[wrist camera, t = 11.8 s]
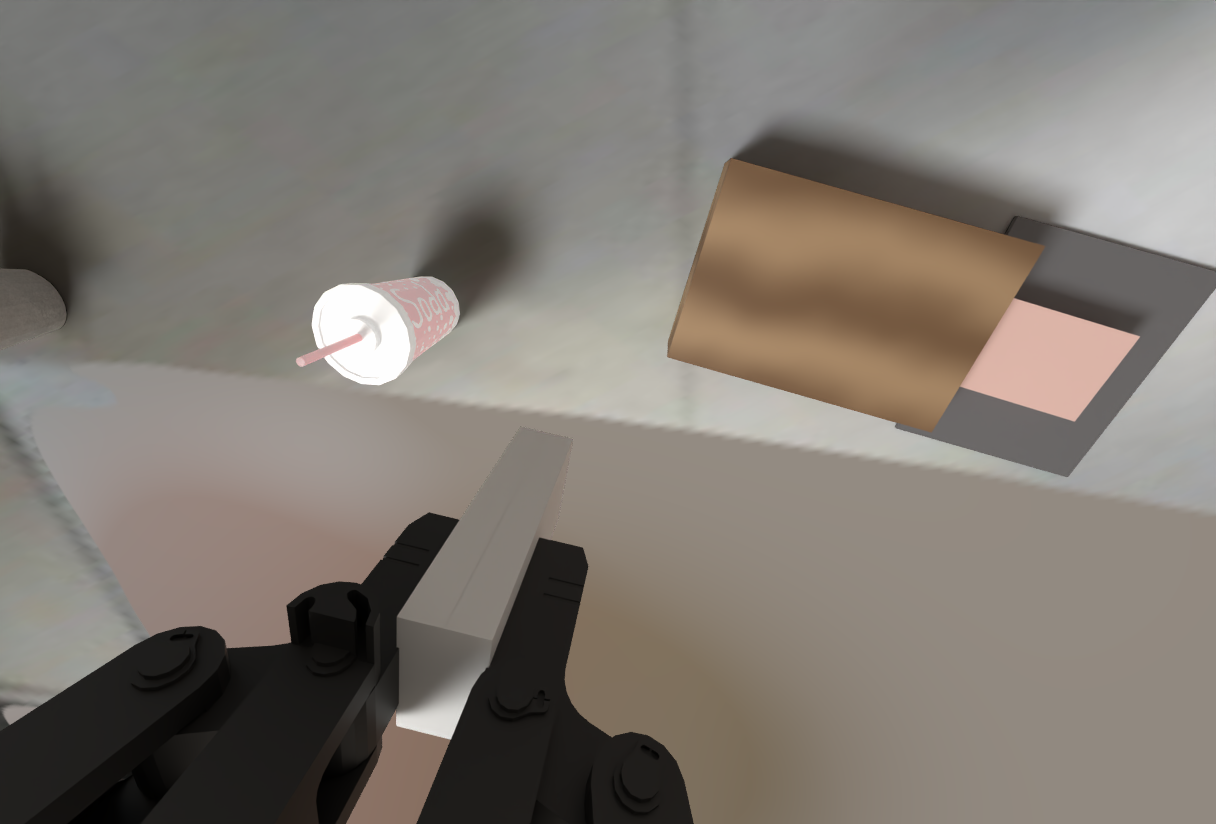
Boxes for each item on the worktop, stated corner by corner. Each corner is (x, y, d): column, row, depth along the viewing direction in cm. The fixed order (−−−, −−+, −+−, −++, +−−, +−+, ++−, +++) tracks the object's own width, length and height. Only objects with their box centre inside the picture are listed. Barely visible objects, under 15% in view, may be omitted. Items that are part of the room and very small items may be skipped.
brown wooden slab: (724, 163, 30) (731, 158, 27) (1000, 241, 30) (1045, 246, 27) (668, 341, 35) (667, 357, 32) (905, 408, 35) (931, 432, 32)
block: (979, 288, 31) (998, 293, 29) (1113, 328, 31) (1140, 336, 29) (929, 372, 34) (944, 381, 32) (1053, 409, 34) (1074, 421, 32)
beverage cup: (479, 339, 37) (377, 410, 24) (408, 351, 38) (275, 425, 26) (455, 258, 35) (328, 289, 22) (380, 273, 36) (220, 311, 23)
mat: (1015, 215, 30) (1018, 216, 29) (1221, 273, 29) (1226, 274, 29) (894, 426, 36) (896, 428, 36) (1064, 475, 36) (1067, 477, 35)
